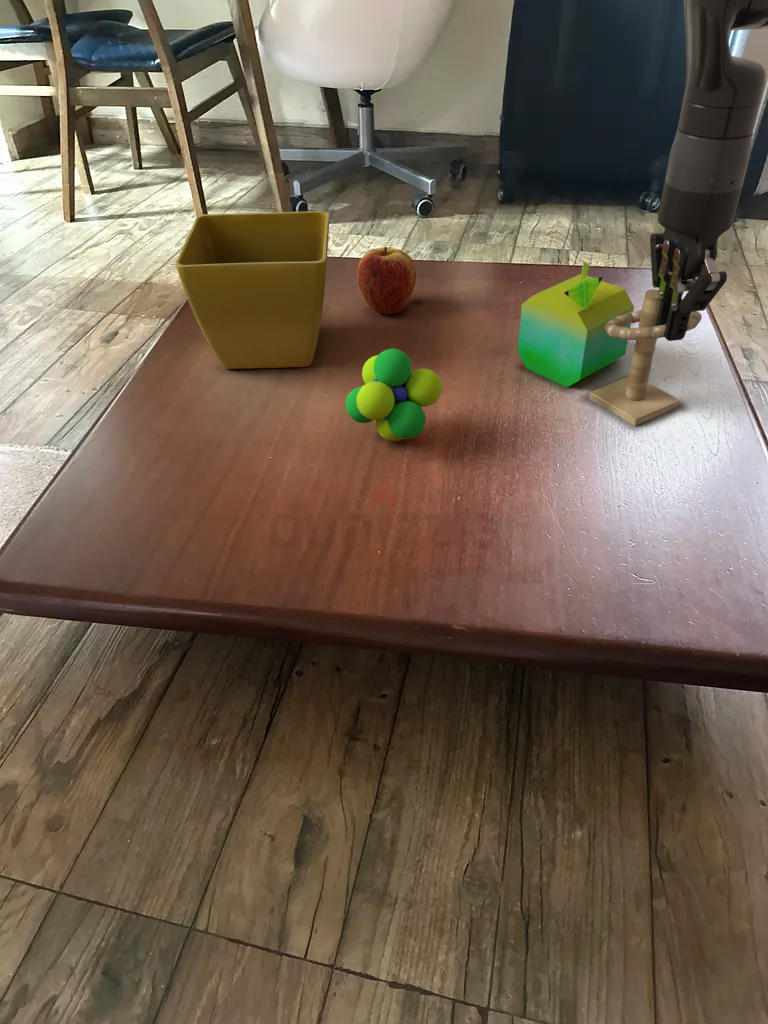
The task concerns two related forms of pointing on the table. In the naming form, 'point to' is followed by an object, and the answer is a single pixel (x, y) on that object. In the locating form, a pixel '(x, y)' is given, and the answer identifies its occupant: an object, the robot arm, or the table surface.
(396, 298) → the apple
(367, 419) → the molecule model
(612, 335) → the ring
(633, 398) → the post
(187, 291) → the flower pot
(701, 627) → the table surface
